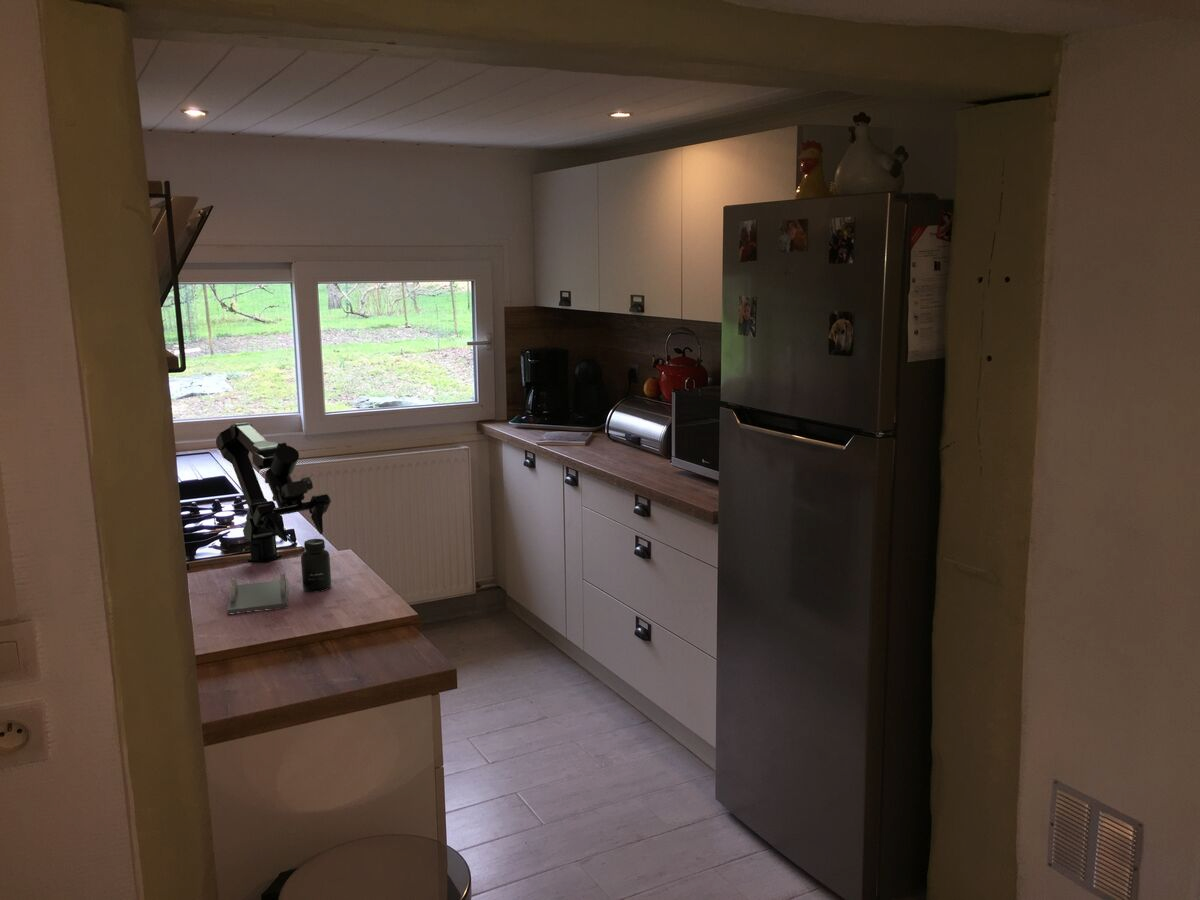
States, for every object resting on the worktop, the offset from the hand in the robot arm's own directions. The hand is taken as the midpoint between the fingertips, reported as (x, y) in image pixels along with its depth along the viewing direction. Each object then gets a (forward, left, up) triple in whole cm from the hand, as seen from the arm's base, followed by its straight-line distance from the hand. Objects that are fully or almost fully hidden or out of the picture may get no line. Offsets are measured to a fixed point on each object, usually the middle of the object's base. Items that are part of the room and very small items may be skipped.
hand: (304, 537), depth 240 cm
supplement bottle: (+2, +5, -12) cm, 13 cm away
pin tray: (+13, -3, -12) cm, 18 cm away
